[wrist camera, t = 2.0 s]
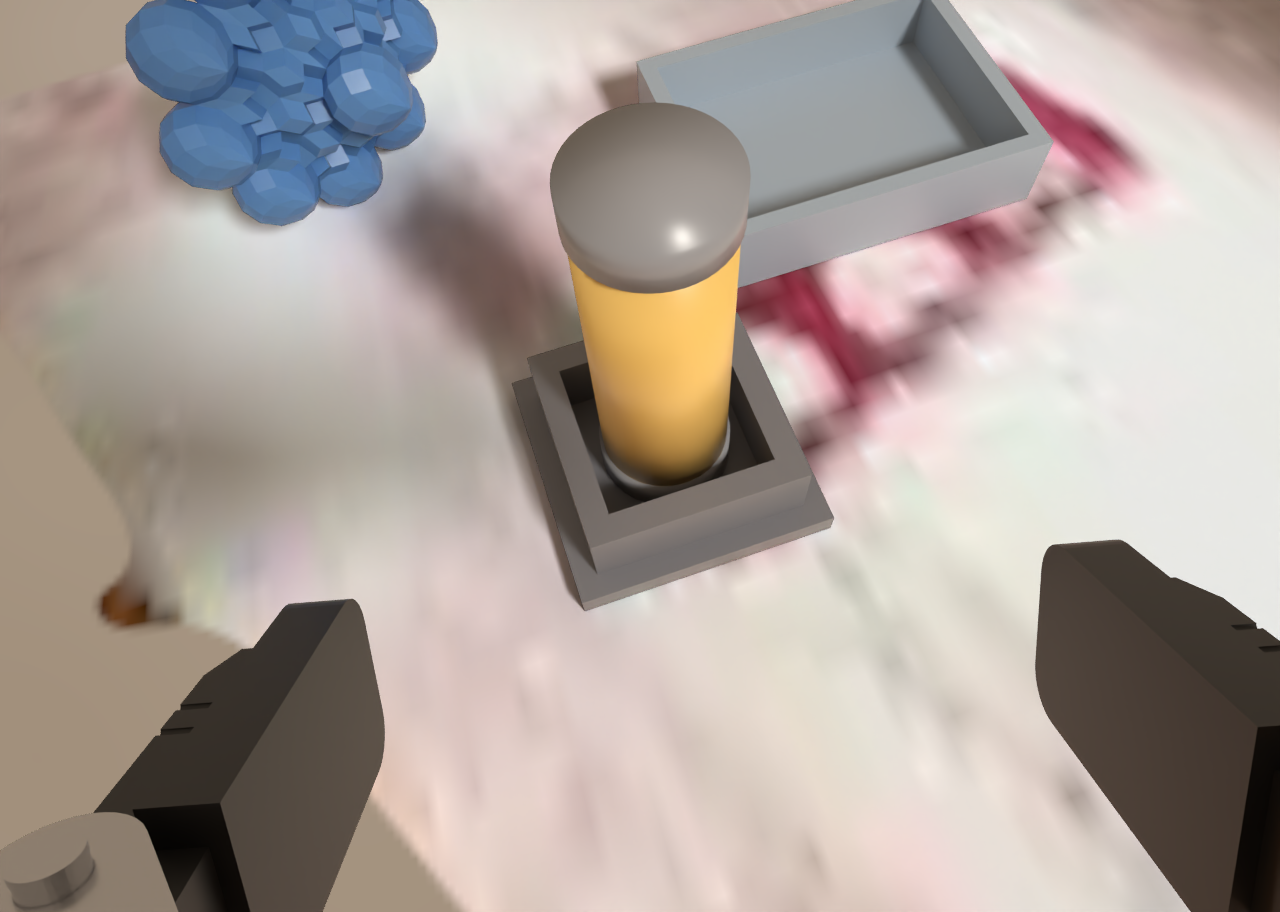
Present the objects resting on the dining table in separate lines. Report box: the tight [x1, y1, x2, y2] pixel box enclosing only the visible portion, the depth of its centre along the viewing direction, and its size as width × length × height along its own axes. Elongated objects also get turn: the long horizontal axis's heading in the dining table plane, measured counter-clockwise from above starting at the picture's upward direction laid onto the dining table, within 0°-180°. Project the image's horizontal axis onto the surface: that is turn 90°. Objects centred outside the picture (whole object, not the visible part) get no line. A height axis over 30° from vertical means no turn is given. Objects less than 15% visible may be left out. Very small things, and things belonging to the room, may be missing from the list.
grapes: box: [126, 0, 438, 226], centre depth 30 cm, size 12×7×12 cm, turn 150°
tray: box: [636, 0, 1053, 288], centre depth 34 cm, size 12×9×3 cm
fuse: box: [550, 102, 751, 502], centre depth 24 cm, size 4×4×12 cm
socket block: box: [512, 313, 834, 611], centre depth 28 cm, size 8×8×3 cm
